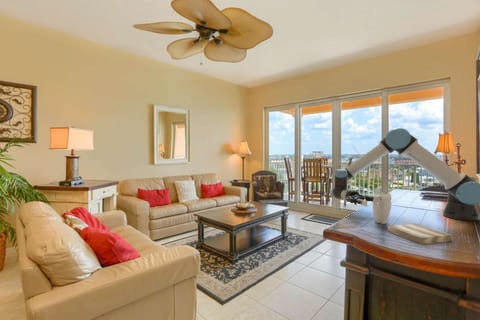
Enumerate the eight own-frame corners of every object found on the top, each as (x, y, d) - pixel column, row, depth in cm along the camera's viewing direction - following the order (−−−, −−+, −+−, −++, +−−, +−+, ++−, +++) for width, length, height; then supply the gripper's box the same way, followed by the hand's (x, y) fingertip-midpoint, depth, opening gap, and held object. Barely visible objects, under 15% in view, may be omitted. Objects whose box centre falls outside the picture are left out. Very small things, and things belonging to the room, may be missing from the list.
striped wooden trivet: (415, 228, 116) (415, 223, 116) (451, 240, 100) (451, 234, 100) (387, 231, 112) (387, 225, 112) (420, 244, 96) (420, 237, 96)
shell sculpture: (391, 226, 120) (391, 190, 119) (372, 223, 124) (372, 188, 123) (390, 222, 127) (391, 188, 126) (372, 219, 131) (373, 186, 130)
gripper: (367, 201, 151) (397, 209, 130) (332, 203, 145) (357, 211, 124) (368, 189, 150) (397, 195, 130) (332, 190, 145) (357, 197, 124)
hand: (377, 203), depth 127 cm, fingers open, 13 cm apart
